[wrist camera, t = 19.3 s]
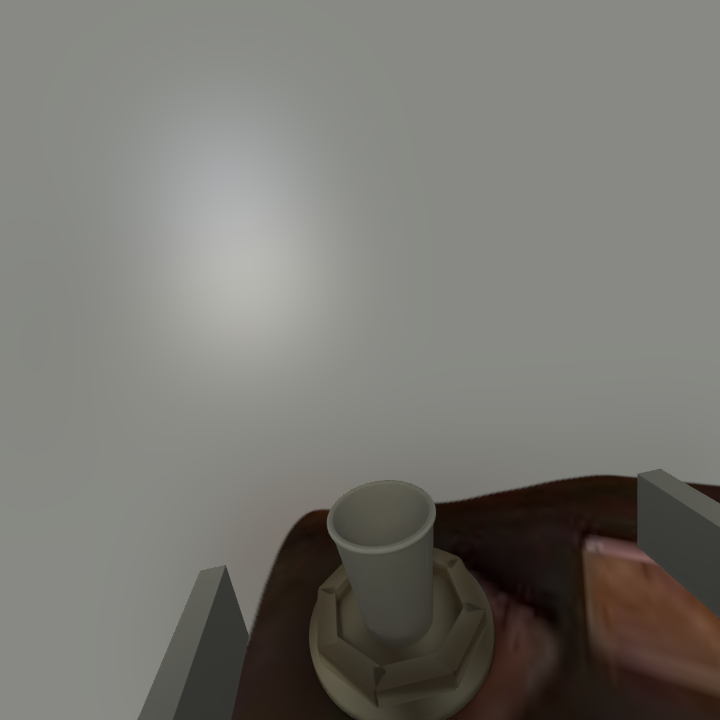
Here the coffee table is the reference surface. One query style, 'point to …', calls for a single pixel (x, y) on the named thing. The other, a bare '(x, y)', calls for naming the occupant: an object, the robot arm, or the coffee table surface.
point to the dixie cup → (388, 557)
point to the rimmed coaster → (405, 650)
